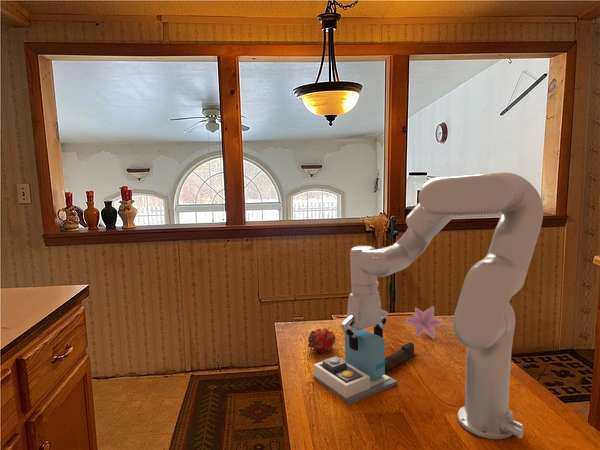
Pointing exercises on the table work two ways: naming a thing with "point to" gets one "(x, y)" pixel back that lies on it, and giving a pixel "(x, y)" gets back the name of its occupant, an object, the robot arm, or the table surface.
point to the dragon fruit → (321, 340)
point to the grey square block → (334, 365)
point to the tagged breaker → (347, 375)
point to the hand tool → (399, 356)
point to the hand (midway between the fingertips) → (366, 345)
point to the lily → (424, 322)
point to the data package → (367, 354)
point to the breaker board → (352, 383)
